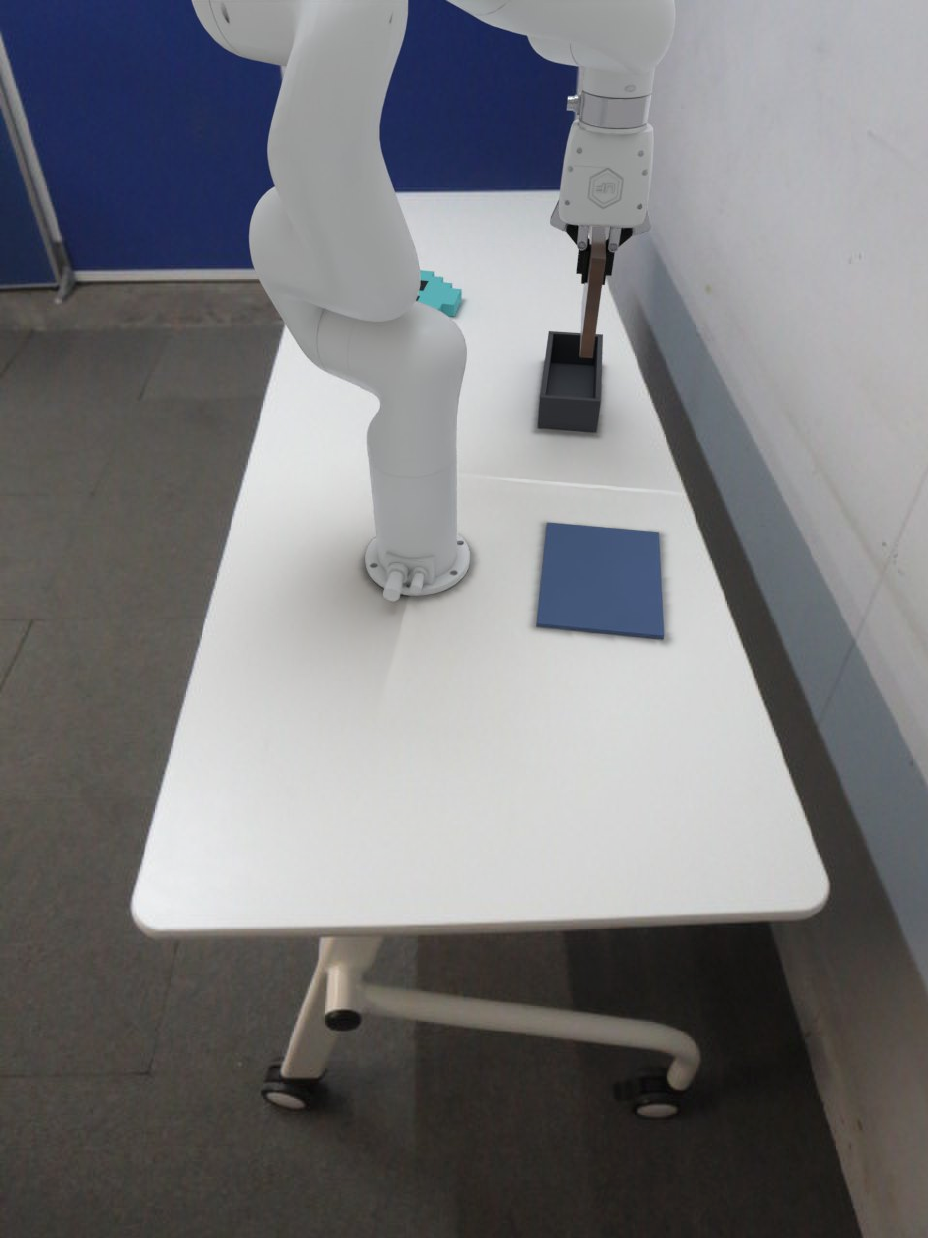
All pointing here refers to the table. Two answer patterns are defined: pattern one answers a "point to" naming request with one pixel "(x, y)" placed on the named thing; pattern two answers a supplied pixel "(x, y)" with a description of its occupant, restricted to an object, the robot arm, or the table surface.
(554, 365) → the bin
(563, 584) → the mat
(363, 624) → the table surface
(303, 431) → the table surface
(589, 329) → the board
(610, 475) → the table surface
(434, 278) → the alien figure
